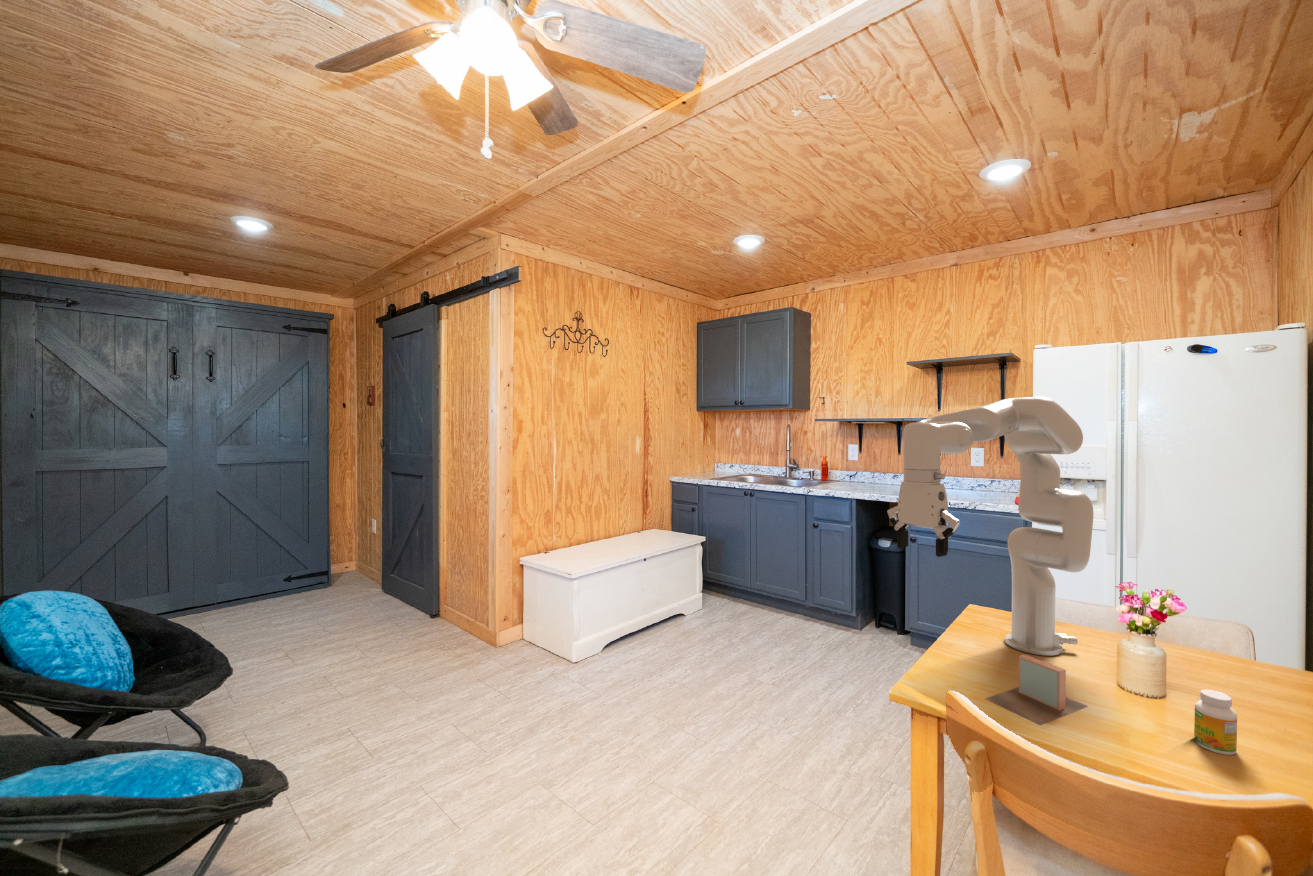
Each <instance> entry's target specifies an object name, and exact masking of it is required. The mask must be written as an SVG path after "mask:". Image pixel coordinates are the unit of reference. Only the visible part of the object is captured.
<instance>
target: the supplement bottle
mask: <svg viewBox="0 0 1313 876" xmlns="http://www.w3.org/2000/svg"><path fill="white" fill-rule="evenodd" d="M1199 697H1200V699H1199V700H1198V701H1196V702H1195V703H1194V728H1193V729H1194V730H1193V731H1194V732H1193V735H1194V737H1193V740H1194V742H1195V743H1196V744H1197V745H1198V746H1200V747H1201V748H1203V749H1206V750H1208V751H1210V752H1213V753H1216V754H1220V755H1225V756H1230V755H1235V754H1236V753H1237V747H1238V746H1237V745H1238V744H1237V743H1238V741H1237V740H1238V739H1237V738H1238V735H1237V734H1238V732H1237V731H1238V714H1237V712H1236V711H1235V710H1234V709H1233V708H1231V707H1232V705H1233V699H1232V697H1231V696H1230V695H1229V694H1226V693H1224V692H1221V691H1217V690H1213V689H1207V688H1206V689H1201V690H1200V694H1199Z"/></svg>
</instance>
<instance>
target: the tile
mask: <svg viewBox="0 0 1313 876" xmlns="http://www.w3.org/2000/svg"><path fill="white" fill-rule="evenodd" d="M1066 671H1067V669H1065V668H1064V667H1063V668H1062V667H1059V666H1057V665H1055V664H1052V663H1049V662H1046V661H1043V660H1041V659H1038V658H1035V657H1033V656H1030V655H1028V654H1022V655H1019V656H1018V687H1019V693H1021V694H1023V695H1026V696H1028V697H1030V698H1032V699H1035V700H1037V701H1039V702H1041V703H1044V704H1046V705H1048V706H1050V707H1053V708H1055V709H1057V710H1062V709H1065V697H1066V687H1067V686H1066V685H1067V684H1066V681H1067V680H1066V679H1067V677H1066V675H1067V674H1066V673H1067V672H1066Z"/></svg>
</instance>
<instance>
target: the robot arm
mask: <svg viewBox="0 0 1313 876" xmlns="http://www.w3.org/2000/svg"><path fill="white" fill-rule="evenodd" d="M1002 436H1004V440H1005V444H1007V446H1008V448H1009V449H1010V450H1011V451H1012V452H1013V454H1014V456H1015V457H1016V458H1017V461H1018V462H1019V466H1020V484H1019V495H1018V506H1017V507H1018V514H1019V516H1020V517H1021V519H1022V520H1025V521H1027V522H1031V523H1034V524H1035V523H1036V524H1039V525H1040V524H1042V525H1046V526H1055V527H1060V528H1061V529H1062V531H1055V530H1051V529H1044V528H1038V527H1029V526H1022V527H1016V528H1015V529H1013V530H1012V531H1011V532H1010V533H1009V535H1008V537H1007V548H1008V549H1007V551H1008V554H1009V558H1010V565H1011V632H1010V633H1007V634H1005V636H1004V643H1005V644H1006V645H1008V646H1009V647H1011V648H1013V649H1015V650H1018V651H1020V652H1024V653H1028V654H1031V655H1036V656H1037V655H1038V656H1045V657H1047V656H1049V657H1051V656H1052V657H1053V656H1057V655H1060V654H1062V653H1063V645H1064V644H1068V645H1074V646H1075V645H1078V643H1079V641H1078V638H1077V637H1076V636H1070V635H1069V636H1068V635H1067V634H1066V633H1058V632H1057V631H1056V590H1057V589H1056V587H1057V586H1056V581H1055V578H1054V576H1053V574H1052V572H1051V570H1050V569H1054V570H1057V571H1058V570H1059V571H1062V572H1069V573H1080V572H1083V571H1084V570H1085V569H1086V568H1087V566H1088V564H1089V561H1090V556H1091V549H1092V547H1091V546H1092V536H1093V529H1094V528H1093V525H1094V507H1093V503H1092V501H1091V499H1090V498H1089V496H1088V494H1087V495H1086V493H1083V492H1081V491H1077V490H1072V489H1071V490H1070V489H1061V488H1060V487H1061V486H1060V485H1061V469H1060V466H1059V464H1058V462H1057V461H1056V459H1055V458H1054V457H1053V455H1071V454H1074V453H1076V452H1077V451H1079V450H1080V448H1081V447H1082V445H1083V441H1084V434H1083V430H1082V428H1081V426H1080V425H1079V423H1078V422H1077V421H1076V420H1075V419H1073V417H1072V416H1071V415H1070V414H1069V413H1068V412H1067V411H1066V410H1065V409H1064V408H1063V407H1062V406H1061V405H1060V404H1058V402H1056V401H1055V400H1052V399H1051V398H1049V397H1045V396H1033V397H1032V396H1028V397H1024V396H1023V397H1010V398H1004V399H1003V398H1002V399H1000V400H997V401H993V402H991V403H988V404H985V405H982V406H978V407H974V408H969V409H964V410H959V411H955V412H950V413H946V414H939V415H936V416H931V417H928V418H924V419H922V420H919V421H916V422H910V423H907V424H906V425H905V426H904V429H903V481H901V483H900V485H899V492H898V502H897V505H896V506H894V507H891V508H889V509H887V511H886V512H887V516H888V518H889V522H890V523H891V524H892V526H893V527H894V528H893V529H894V530H895V531H896V548H897V549H898V548H899V549H903V548H907V547H909V529H907V528H908V527H909V526H913V527H919V528H925V529H931V530H933V532H934V533H935V534H936V536H937V537H938V538H937V537H936V538H935V556H936V557H939V558H940V557H945V556H947V555H948V552H949V539H950V538H951V537H952V536H953V535H954V534H955V533H956V532H957V529H958V527H959V526H960V524H961V520H960V519H958V518H957V517H955V515H952V513H949V504H948V497H947V492H946V487H945V483H941V481H942V480H945V479H946V475H945V473H942V472H941V471H942V470H941V454H942V455H943V454H944V455H958V454H959V455H961V454H963V453H965V452H967V451H969V449H970V448H971V446H972V445H973V443H982V442H987V441H988V442H989V441H992V440H994V439H997V438H999V437H1002ZM1049 568H1050V569H1049Z"/></svg>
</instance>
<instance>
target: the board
mask: <svg viewBox="0 0 1313 876" xmlns="http://www.w3.org/2000/svg"><path fill="white" fill-rule="evenodd" d="M984 699H985V700H987V701H989V702H991V703H993V704H995V705H998V706H999V707H1000V708H1003V709H1005V710H1008V711H1010V712H1012V713H1014V714H1016V715H1019V716H1020V717H1022V718H1024V719H1027V720H1029V721H1031V722H1033V723H1035V724H1037V725H1038V726H1042V725H1044V724H1047V723H1050V722H1052V721H1055V720H1057V719H1060V718H1062V717H1065V716H1067V715H1070V714H1072V713H1074V712H1077V711H1080V710H1082V709H1084V708H1087V707H1088V705H1086V704H1084V703H1082V702H1078V701H1076V700H1074V699H1072V698H1069V697H1067V696H1065V709H1062V710H1057V709H1055V708H1053V707H1050V706H1048V705H1046V704H1044V703H1041V702H1039V701H1037V700H1035V699H1032V698H1030V697H1028V696H1026V695H1023V694H1021V693H1019V686H1018V687H1015V688H1012V689H1009V690H1006V691H1003V692H1000V693H997V694H995V695H991V696H988V697H986V698H984Z"/></svg>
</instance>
